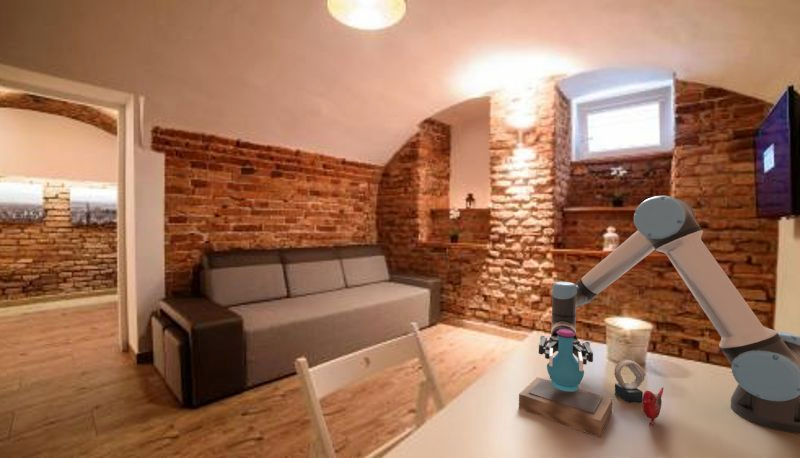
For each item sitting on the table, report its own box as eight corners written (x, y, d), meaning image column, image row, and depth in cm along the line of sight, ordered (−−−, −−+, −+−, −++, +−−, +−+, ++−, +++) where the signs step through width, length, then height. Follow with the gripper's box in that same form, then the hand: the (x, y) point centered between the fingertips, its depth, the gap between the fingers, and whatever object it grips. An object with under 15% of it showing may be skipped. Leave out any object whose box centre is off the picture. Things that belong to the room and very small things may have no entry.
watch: (648, 402, 101) (649, 364, 101) (622, 403, 100) (623, 365, 100) (633, 392, 107) (634, 356, 107) (609, 393, 106) (609, 357, 106)
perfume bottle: (539, 380, 99) (540, 327, 99) (565, 376, 102) (566, 324, 102) (563, 396, 91) (564, 338, 90) (591, 391, 93) (593, 334, 93)
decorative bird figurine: (637, 432, 87) (638, 392, 87) (656, 407, 99) (657, 371, 98) (651, 437, 85) (652, 396, 84) (669, 411, 96) (670, 375, 96)
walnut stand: (611, 413, 95) (612, 397, 95) (600, 437, 85) (600, 419, 84) (537, 390, 108) (537, 376, 108) (518, 408, 98) (519, 392, 98)
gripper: (598, 353, 109) (608, 385, 88) (531, 343, 117) (526, 370, 95) (598, 329, 109) (609, 355, 87) (531, 321, 116) (526, 343, 95)
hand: (565, 363), depth 92 cm, fingers closed on perfume bottle, 6 cm apart
